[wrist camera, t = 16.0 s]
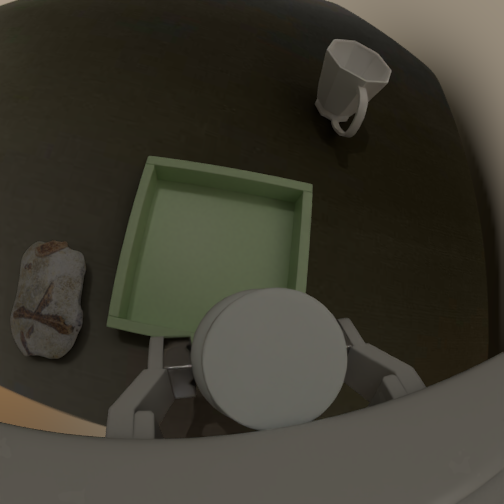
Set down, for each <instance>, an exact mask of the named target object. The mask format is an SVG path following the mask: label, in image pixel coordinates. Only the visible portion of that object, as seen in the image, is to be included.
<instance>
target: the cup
mask: <svg viewBox="0 0 504 504" xmlns="http://www.w3.org/2000/svg"><path fill="white" fill-rule="evenodd" d="M390 74H391V69H390V68H389V67H388V65H387V64H386V63H385V62H384V60H383V59H382V58H381V57H380V55H379V54H378V53H376V52H375V51H373V50H371V49H369V48H367V47H366V46H364V45H362V44H360V43H358V42H356V41H351V40H340V39H334V40H333V41H332V43H331V44H330V45H329V47H328V48H327V50H326V54H325V58H324V63H323V67H322V71H321V75H320V79H319V83H318V93H317V98H318V99H317V100H316V102H315V106H316V107H317V109H318V111H319V113H320V115H322V116H324V117H325V118H327V119H329V120H331V124H332V127H333V129H334V130H335V132H336V133H337V134H339V135H340V136H344V137H349V138H351V137H352V136H353V135H355V134H356V132H357V130H358V129H359V127H360V125H361V123H362V121H363V119H364V117H365V113H366V110H367V106H368V102H369V101H370V100H371V99H372V98H373V97H374V96H375V95H376V94H377V93H378V92H379V91H380V90H381V89H382V88H383V87H384V86H385V85H386V84H387V83H388V81H389V77H390ZM354 113H356V115H355V117H354V119H353V122H352V124H351V125H350V127H349V129H348V130H347V131H346V132H344V131H343V130H342V129H341V128H340V126H339V122H345V121H347V120H348V118H349V116H352V115H353V114H354Z"/></svg>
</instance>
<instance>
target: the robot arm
mask: <svg viewBox="0 0 504 504" xmlns="http://www.w3.org/2000/svg"><path fill="white" fill-rule="evenodd" d="M336 320H337V322H338V324H339V326H340V328H341V330H342V332H343V335H344V338H345V342H346V348H347V370H346V375H345V378H344V382H345V383H346V384H347V385H348V386H350V387H351V388H352V389H354V390H355V391H356V392H357V393H359V394H360V395H361V396H363V397H364V398H365V399H366V400H368V401H369V402H370V403H369V405H368V407H367V408H363V409H360V410H356V411H353V412H349V413H345V414H341V415H337V416H333V417H329V418H325V419H321V420H316V421H312V422H307V423H302V424H297V425H292V426H286V427H281V428H275V429H269V430H262V431H255V432H248V433H239V434H231V435H221V436H209V437H195V438H172V439H164V437H163V435H162V432H161V430H160V427H159V424H160V423H161V421H162V420H163V418H164V416H165V415H166V413H167V412H168V410H169V408H170V407H171V405H172V403H173V402H174V400H175V399H177V398H190V397H197V395H196V383H195V379H194V376H193V370H192V362H191V345H192V344H191V336H190V335H182V336H151V338H150V342H149V355H148V369H144V370H143V371H142V372H141V373H140V374H139V375H138V376H137V378H136V379H135V380H134V381H133V382H132V383H131V384H130V385H129V387H128V388H127V389H126V390H125V391H124V392H123V393H122V394H121V396H120V397H119V398H118V399H117V400H116V401H115V402H114V404H113V405H112V406H111V407H110V408H109V410H108V418H107V427H106V437H93V436H82V435H72V434H64V433H56V432H50V431H43V430H37V429H31V428H26V427H20V426H16V425H11V424H6V423H2V422H0V504H504V352H502V353H500V354H498V355H496V356H495V357H493V358H491V359H489V360H487V361H485V362H483V363H481V364H479V365H477V366H475V367H472V368H470V369H468V370H466V371H464V372H462V373H459V374H457V375H455V376H453V377H450V378H448V379H446V380H443V381H441V382H438V383H436V384H433V385H431V386H428V387H426V386H425V385H424V383H423V382H422V380H421V379H420V377H419V376H418V374H417V373H416V371H415V370H414V368H413V367H411V366H409V365H407V364H406V363H404V362H402V361H400V360H398V359H396V358H395V357H393V356H391V355H389V354H387V353H385V352H383V351H382V350H380V349H378V348H376V347H374V346H372V345H371V344H369V343H367V344H365V342H364V341H363V339H362V338H361V336H360V334H359V333H358V331H357V330H356V328H355V327H354V325H353V324H352V322H351V320H350V319H349V318H342V319H336Z"/></svg>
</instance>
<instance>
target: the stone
mask: <svg viewBox="0 0 504 504" xmlns="http://www.w3.org/2000/svg"><path fill="white" fill-rule="evenodd" d="M85 272H86V263H85V260H84V256H83V254H82V253H81V252H79V251H75V250H72V249H71V248H69V246H68V244H67V242H58V241H55V240H53V241H50V242H47V243H44V242H42V241H38V242H36V243H34V244H33V245H32V246H31V247H29V248H28V250H27V251H26V252H25V254H24V255H23V257H22V260H21V269H20V278H19V283H18V289H17V295H16V299H15V302H14V306H13V309H12V313H11V318H10V322H11V330H12V334H13V337H14V340H15V342H16V344H17V346H18V348H19V349H20V351H21V352H22V353H23V354H24V355H25V356H30V355H32V356H35V355H39V356H43V357H46V358H49V359H54V358H55V359H58V358H61V357H62V356H64V355H65V354H66V353H67V352H68V351H69V350H70V349H71V348H72V346H73V345H74V342H75V340H76V338H77V334H78V333H79V331H80V329H81V327H82V323H83V311H82V309H81V295H82V289H83V281H84V274H85Z"/></svg>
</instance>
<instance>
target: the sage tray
mask: <svg viewBox="0 0 504 504" xmlns="http://www.w3.org/2000/svg"><path fill="white" fill-rule="evenodd" d="M312 186H313V185H312V184H308V183H304V182H299V181H294V180H290V179H285V178H280V177H275V176H270V175H265V174H260V173H255V172H250V171H244V170H239V169H233V168H228V167H222V166H216V165H210V164H203V163H197V162H191V161H184V160H177V159H170V158H162V157H155V156H148V158H147V161H146V165H145V168H144V171H143V174H142V177H141V180H140V183H139V187H138V190H137V193H136V197H135V200H134V204H133V207H132V211H131V215H130V218H129V222H128V226H127V230H126V234H125V237H124V242H123V246H122V250H121V254H120V258H119V263H118V267H117V272H116V277H115V281H114V286H113V291H112V297H111V302H110V308H109V313H108V315H109V316H108V319H107V327H110V328H115V329H119V330H124V331H128V332H133V333H138V334H142V335H147V336H182V335H190V336H191V344H192V341H193V338H194V334H195V332H196V330H197V327H198V325H199V323H200V322H201V320H202V319H203V317H204V316H205V315H206V313H207V312H208V311H209V310H210V309H211V308H212V307H213V306H214V305H215V304H216V303H218V302H220V301H221V300H222V299H224V298H226V297H228V296H230V295H232V294H235V293H238V292H241V291H244V290H250V289H265V288H288V289H293V290H297V291H300V292H303V293H306V282H307V269H308V256H309V242H310V227H311V210H312Z"/></svg>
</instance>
